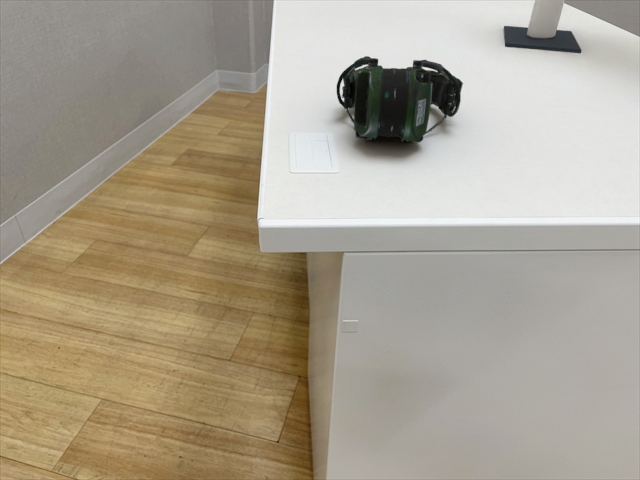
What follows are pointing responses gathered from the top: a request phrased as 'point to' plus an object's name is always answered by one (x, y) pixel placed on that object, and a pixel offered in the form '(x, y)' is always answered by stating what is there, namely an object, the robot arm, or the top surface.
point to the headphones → (397, 98)
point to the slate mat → (540, 40)
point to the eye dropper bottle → (545, 18)
